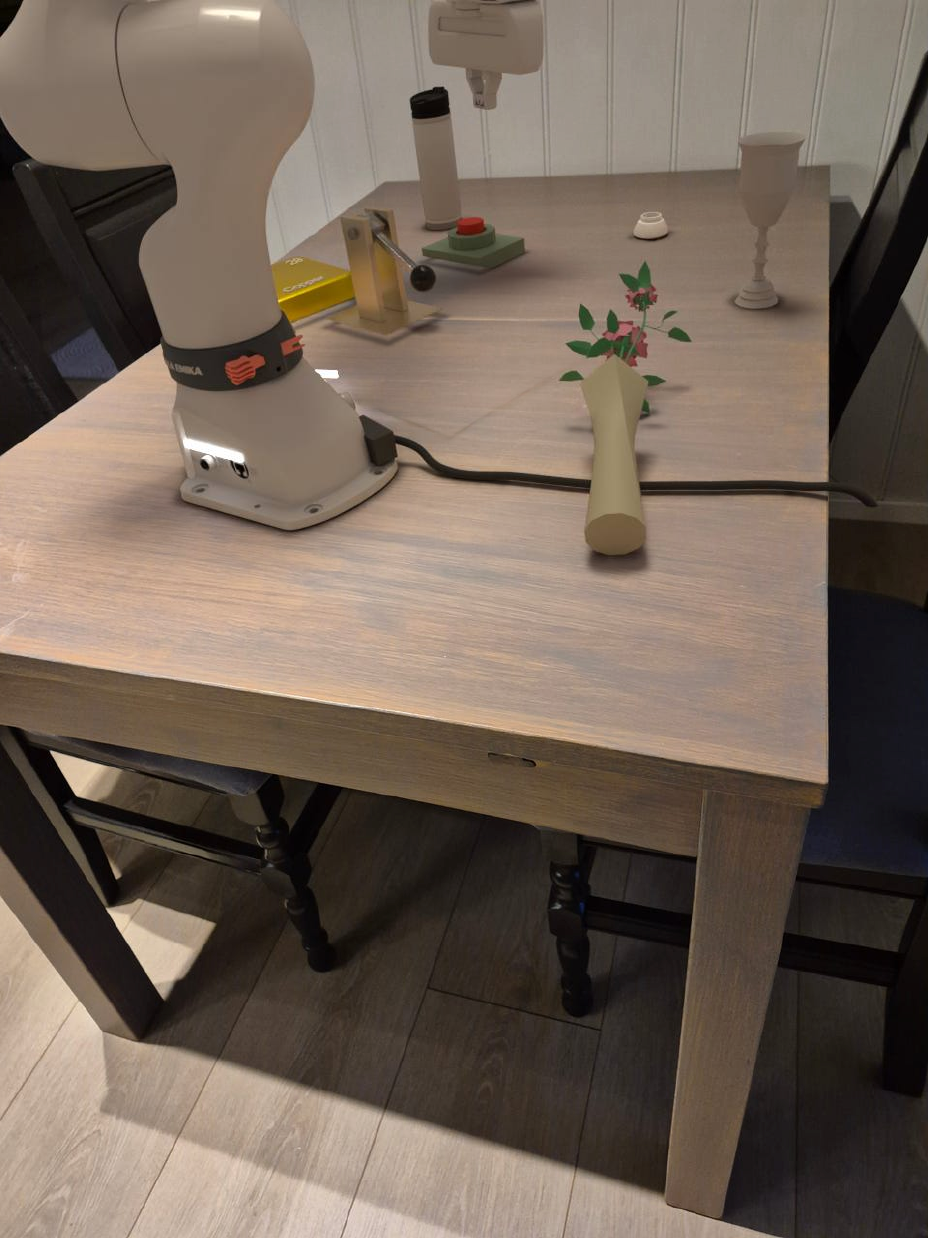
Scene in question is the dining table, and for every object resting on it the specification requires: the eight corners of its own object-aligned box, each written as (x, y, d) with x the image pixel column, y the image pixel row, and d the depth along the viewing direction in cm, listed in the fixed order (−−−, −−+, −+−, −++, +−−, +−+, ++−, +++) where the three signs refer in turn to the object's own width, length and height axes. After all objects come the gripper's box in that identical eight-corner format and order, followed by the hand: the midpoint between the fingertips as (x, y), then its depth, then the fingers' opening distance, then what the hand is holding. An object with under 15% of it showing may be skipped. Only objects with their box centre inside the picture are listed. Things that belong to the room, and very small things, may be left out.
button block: (525, 252, 134) (523, 224, 132) (480, 273, 129) (477, 245, 127) (467, 243, 141) (465, 216, 139) (423, 262, 136) (419, 235, 134)
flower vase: (578, 613, 78) (584, 367, 99) (719, 584, 73) (693, 332, 94) (527, 526, 70) (545, 278, 91) (682, 487, 65) (662, 234, 86)
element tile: (273, 337, 118) (264, 301, 115) (219, 315, 128) (209, 281, 125) (363, 302, 125) (356, 267, 122) (305, 283, 135) (298, 250, 132)
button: (490, 230, 133) (489, 218, 132) (472, 238, 131) (470, 226, 130) (470, 227, 135) (469, 215, 134) (452, 235, 133) (451, 223, 132)
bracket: (443, 316, 117) (428, 205, 109) (388, 343, 112) (368, 229, 103) (382, 302, 124) (364, 197, 116) (328, 327, 119) (305, 218, 110)
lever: (437, 292, 111) (444, 271, 108) (419, 301, 109) (425, 280, 106) (368, 227, 113) (373, 206, 110) (350, 235, 111) (354, 213, 109)
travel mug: (470, 219, 151) (456, 85, 139) (449, 231, 147) (433, 94, 135) (440, 218, 154) (424, 86, 142) (419, 229, 150) (400, 95, 138)
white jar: (650, 242, 131) (674, 233, 133) (650, 221, 129) (675, 213, 131) (626, 236, 135) (651, 228, 136) (626, 216, 133) (651, 207, 135)
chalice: (797, 296, 109) (817, 132, 98) (770, 315, 105) (787, 147, 94) (743, 287, 113) (756, 130, 102) (715, 305, 110) (725, 144, 98)
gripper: (412, -18, 115) (422, 104, 124) (510, -15, 102) (514, 120, 111) (451, -23, 118) (458, 96, 127) (552, -21, 105) (552, 112, 113)
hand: (485, 108), depth 119 cm, fingers closed
